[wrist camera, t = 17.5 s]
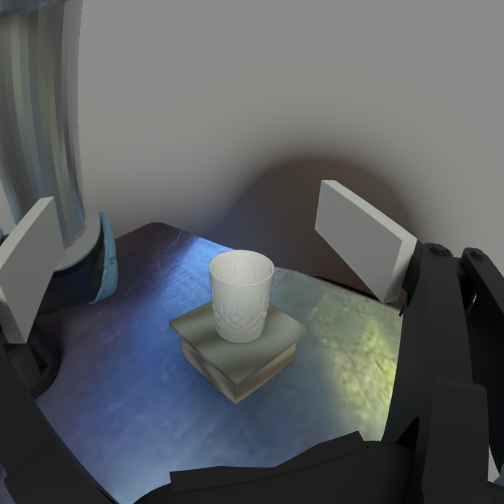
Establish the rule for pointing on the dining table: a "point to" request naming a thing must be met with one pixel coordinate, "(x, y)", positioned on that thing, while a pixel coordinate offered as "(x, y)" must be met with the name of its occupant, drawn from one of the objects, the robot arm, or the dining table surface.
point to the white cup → (240, 294)
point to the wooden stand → (238, 350)
